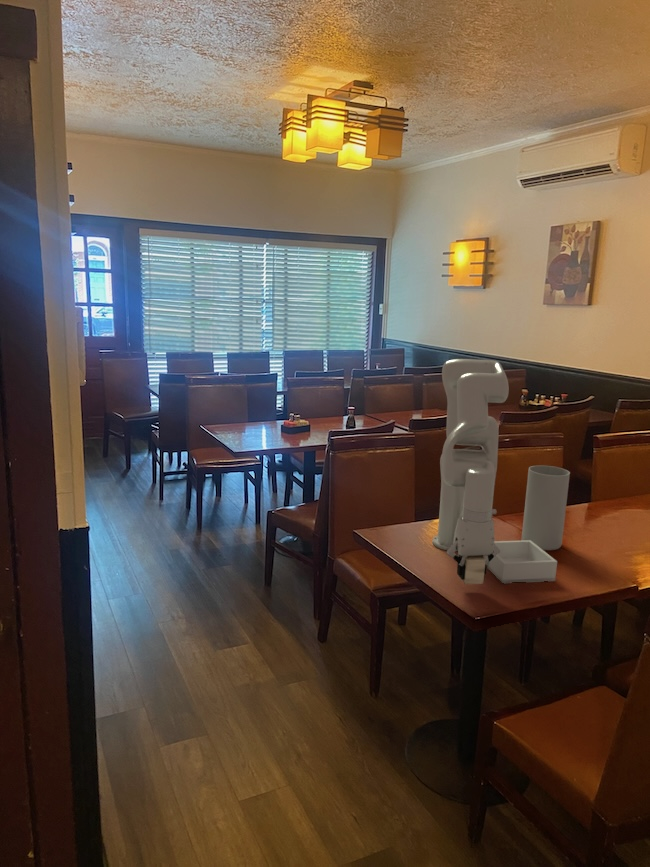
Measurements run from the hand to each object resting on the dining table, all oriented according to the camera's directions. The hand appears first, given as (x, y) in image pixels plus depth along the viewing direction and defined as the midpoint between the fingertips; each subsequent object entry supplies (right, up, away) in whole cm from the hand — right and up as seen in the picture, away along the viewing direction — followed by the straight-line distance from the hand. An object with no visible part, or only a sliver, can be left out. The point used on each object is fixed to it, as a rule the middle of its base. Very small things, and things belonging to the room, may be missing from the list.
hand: (471, 576), depth 170 cm
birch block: (0, -1, 0) cm, 1 cm away
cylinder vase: (+31, +2, +36) cm, 48 cm away
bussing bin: (+17, -2, +15) cm, 22 cm away
